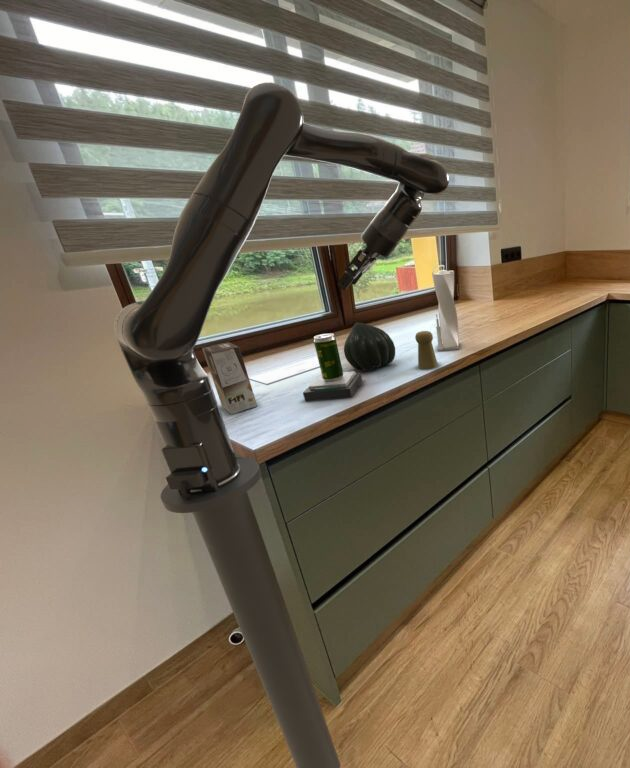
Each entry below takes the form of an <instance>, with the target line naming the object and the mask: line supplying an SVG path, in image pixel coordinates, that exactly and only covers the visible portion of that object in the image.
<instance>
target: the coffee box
mask: <svg viewBox="0 0 630 768" xmlns="http://www.w3.org/2000/svg"><path fill="white" fill-rule="evenodd" d="M201 349H202V352H203V355H204V358H205V361H206V364H207V367H208V369H209V372H210V375H211V378H212V381H213V384H214V387H215V389H216V393H217V395H218V399H219V402H220V405H221V407H222V408H223V409H225V410H226V411H227V412H228V413H229V414H230V415H234V414H237V413H240V412H243V411H247V410H249V409H252V408H256V407H257V406H258V404H257V399H256V397H255V393H254V391H253V387H252V384H251V381H250V377H249V374H248V371H247V368H246V364H245V361H244V358H243V354H242V352H241V348H240V346H238V345H236V344H234V343H232V342H230V341H227V342H222V343H217V344H213V345H209V346H205V347H201Z"/></svg>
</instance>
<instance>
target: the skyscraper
mask: <svg viewBox="0 0 630 768" xmlns="http://www.w3.org/2000/svg"><path fill="white" fill-rule="evenodd" d="M440 267H442V269H441V270H438V272H436V273H435V271H436V270H437V269H438V268H440ZM445 268H446V267H445V265H444V264H439V265H436V266H435V267H434V268H433V270H432V273H431V275H432V281H433V286H434V290H435V294H436V298H437V302H438V307H437V308H438V314H437V313H435V317H436V319H435V320H436V326H435V329H436V336H437V337H436V339H437V347H438V348H437V349H438V350H437V351H438V352H445V351H455V350H456V351H457V350H459V347H460V341H459V339H460V338H459V337H460V335H459V334H460V333H459V319H458V312H457V308H456V303H455V299H454V297H455V271H454V270H451V269H450V270H447V269H445Z"/></svg>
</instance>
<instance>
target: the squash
mask: <svg viewBox="0 0 630 768" xmlns="http://www.w3.org/2000/svg"><path fill="white" fill-rule="evenodd" d="M343 354H344V357H345V359H346V361H347V362H348V364H349V365H350V366H351V367H353V368H354V369H355V370H357V371H366V372H369V371H372V370H374V369H375V368H379V367H381V366H382V367H384V366H388V365H390V364H391V363H393V361H394V360H395V358H396V346H395V343H394V341H393V339H392V338H391V337H390V335H389V334H388V333H387V332H386V331H385V330H383V329H381V328H379V327H377V326H374V325H371V324H367V323H363V322H355V323H354V325H353V326H352V327H351V330H350V332H349V333H348V336H347V338H346V339H345V342H344V344H343Z"/></svg>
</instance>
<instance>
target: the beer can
mask: <svg viewBox="0 0 630 768" xmlns="http://www.w3.org/2000/svg"><path fill="white" fill-rule="evenodd" d="M313 345H314V350H315V352H316V357H317V361H318V365H319V369H320V373H321V374H322V378H323V379H324V380H325V381H327V382H331V381H337V380H340V379H342V378H343V372H344V370H343V366H342V361H341V357H340V352H339V351H340V350H339V348H338V343H337V338H336V336H335V334H334V333H331V332H330V333H328V332H327V333H321V334H317V335H315V336H313ZM321 374H320V375H321Z"/></svg>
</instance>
